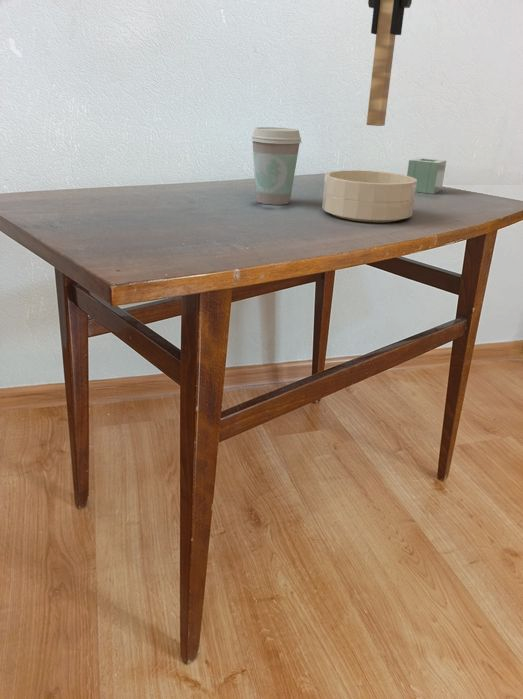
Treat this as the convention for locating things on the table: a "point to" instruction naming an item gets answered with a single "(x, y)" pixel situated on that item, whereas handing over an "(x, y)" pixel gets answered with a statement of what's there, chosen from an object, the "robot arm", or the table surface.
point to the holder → (427, 174)
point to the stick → (381, 66)
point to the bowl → (369, 195)
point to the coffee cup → (275, 163)
